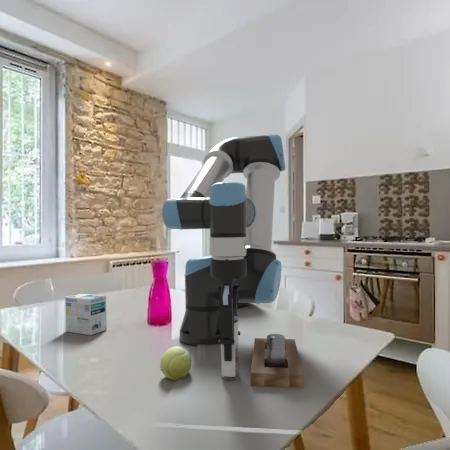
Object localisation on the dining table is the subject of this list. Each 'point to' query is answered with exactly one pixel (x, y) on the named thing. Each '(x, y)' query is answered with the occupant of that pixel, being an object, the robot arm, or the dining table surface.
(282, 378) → the socket board
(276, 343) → the seated stud
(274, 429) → the dining table surface
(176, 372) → the tennis ball
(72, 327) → the light bulb box
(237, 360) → the stud
